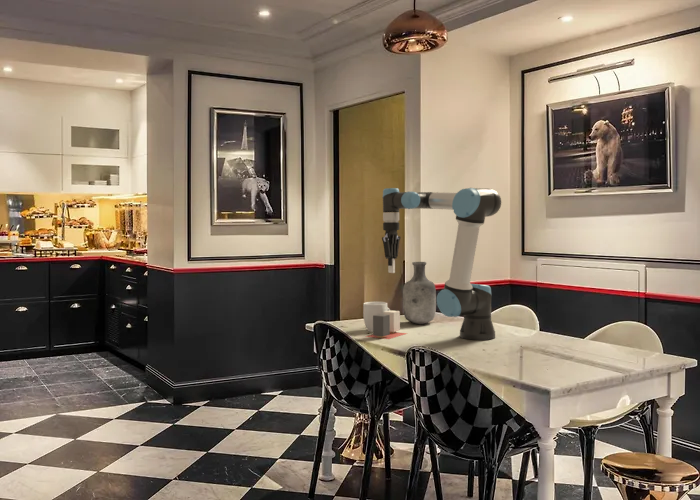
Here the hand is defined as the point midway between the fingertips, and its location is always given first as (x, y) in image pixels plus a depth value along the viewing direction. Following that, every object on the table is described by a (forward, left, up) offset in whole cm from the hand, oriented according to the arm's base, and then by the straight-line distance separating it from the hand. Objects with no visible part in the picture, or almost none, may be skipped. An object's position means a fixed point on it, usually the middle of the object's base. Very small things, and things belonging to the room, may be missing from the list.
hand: (391, 272), depth 316 cm
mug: (+3, +8, -27) cm, 28 cm away
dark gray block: (-8, +22, -25) cm, 34 cm away
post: (-8, +22, -26) cm, 35 cm away
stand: (-7, +16, -26) cm, 32 cm away
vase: (-3, -21, -27) cm, 34 cm away
